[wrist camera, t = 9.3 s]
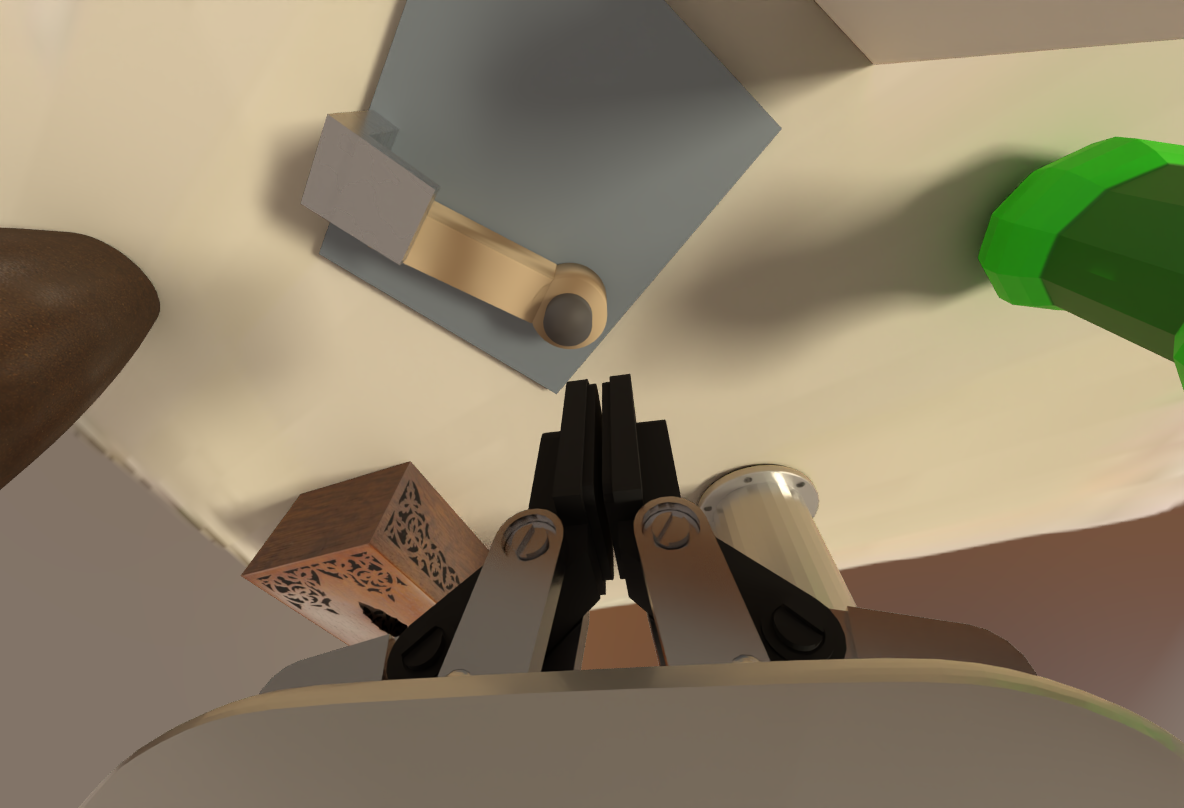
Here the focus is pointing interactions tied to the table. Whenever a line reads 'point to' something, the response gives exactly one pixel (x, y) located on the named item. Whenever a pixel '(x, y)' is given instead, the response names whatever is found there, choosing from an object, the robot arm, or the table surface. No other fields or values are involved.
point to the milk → (998, 25)
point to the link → (512, 278)
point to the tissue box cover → (367, 554)
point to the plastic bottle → (1099, 241)
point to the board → (558, 149)
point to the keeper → (368, 184)
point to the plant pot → (62, 334)
